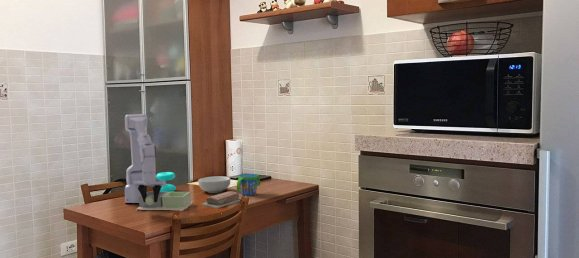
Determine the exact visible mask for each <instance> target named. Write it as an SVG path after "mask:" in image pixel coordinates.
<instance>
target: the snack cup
mask: <svg viewBox="0 0 579 258" xmlns="http://www.w3.org/2000/svg"><path fill="white" fill-rule="evenodd" d="M260 186H261V180H260V176H259V174H258V173H243V174H238V176H237V181H236V190H237V191H239V192H240V194H241V195H242V196H244V195H246V196H247V197H249V196H254V195H255V196H256V194H257V190H258V187H260Z"/></svg>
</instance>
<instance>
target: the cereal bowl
mask: <svg viewBox="0 0 579 258" xmlns="http://www.w3.org/2000/svg"><path fill="white" fill-rule="evenodd" d="M197 182H198V186H199V188H200V189H201V190H202V191H204V192H207V193H209V194H221V193H223V191H225V190H226V189H228V188H230V186H231V178H230V176H229V177H228V176H223V175H221V176H219V175H217V176H215V175H214V176H206V177H202V178H199V179H198V181H197Z"/></svg>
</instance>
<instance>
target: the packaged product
mask: <svg viewBox="0 0 579 258" xmlns="http://www.w3.org/2000/svg"><path fill="white" fill-rule="evenodd" d="M241 199H242V198H240V196H239V192H237V191H226V192H220V193H216V194H215V195H211V196H208V197H206V202H203V203H202V205H201V206H202V207H206V208H212V209H220V208H222V207H225V206H226V207H227V206H229V205H232V204H236V203H238V202H241V201H240V200H241Z"/></svg>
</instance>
